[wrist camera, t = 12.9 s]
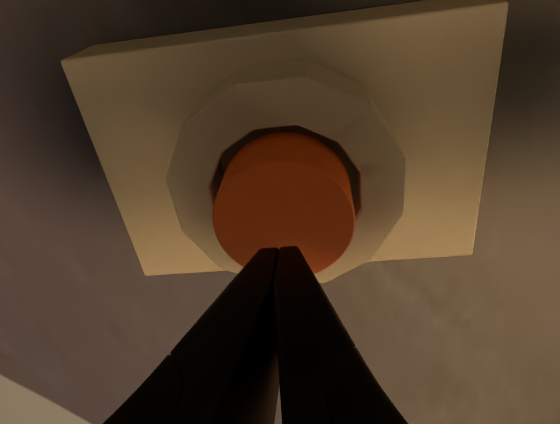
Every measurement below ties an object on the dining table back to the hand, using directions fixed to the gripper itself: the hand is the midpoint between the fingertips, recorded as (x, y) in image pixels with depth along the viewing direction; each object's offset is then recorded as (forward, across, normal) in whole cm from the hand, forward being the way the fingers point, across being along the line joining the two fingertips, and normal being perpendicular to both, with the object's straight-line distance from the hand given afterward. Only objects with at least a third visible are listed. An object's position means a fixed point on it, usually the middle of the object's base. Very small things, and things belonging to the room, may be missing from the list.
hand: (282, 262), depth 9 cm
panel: (+7, 0, 0) cm, 7 cm away
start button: (+3, 0, 0) cm, 3 cm away
